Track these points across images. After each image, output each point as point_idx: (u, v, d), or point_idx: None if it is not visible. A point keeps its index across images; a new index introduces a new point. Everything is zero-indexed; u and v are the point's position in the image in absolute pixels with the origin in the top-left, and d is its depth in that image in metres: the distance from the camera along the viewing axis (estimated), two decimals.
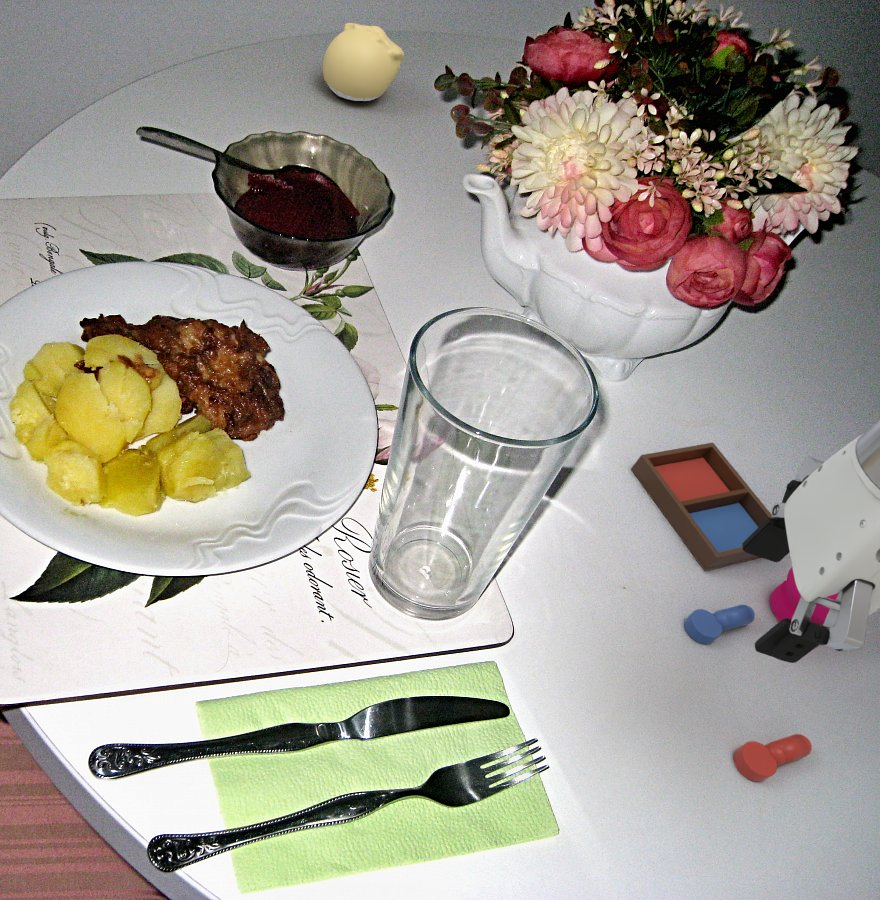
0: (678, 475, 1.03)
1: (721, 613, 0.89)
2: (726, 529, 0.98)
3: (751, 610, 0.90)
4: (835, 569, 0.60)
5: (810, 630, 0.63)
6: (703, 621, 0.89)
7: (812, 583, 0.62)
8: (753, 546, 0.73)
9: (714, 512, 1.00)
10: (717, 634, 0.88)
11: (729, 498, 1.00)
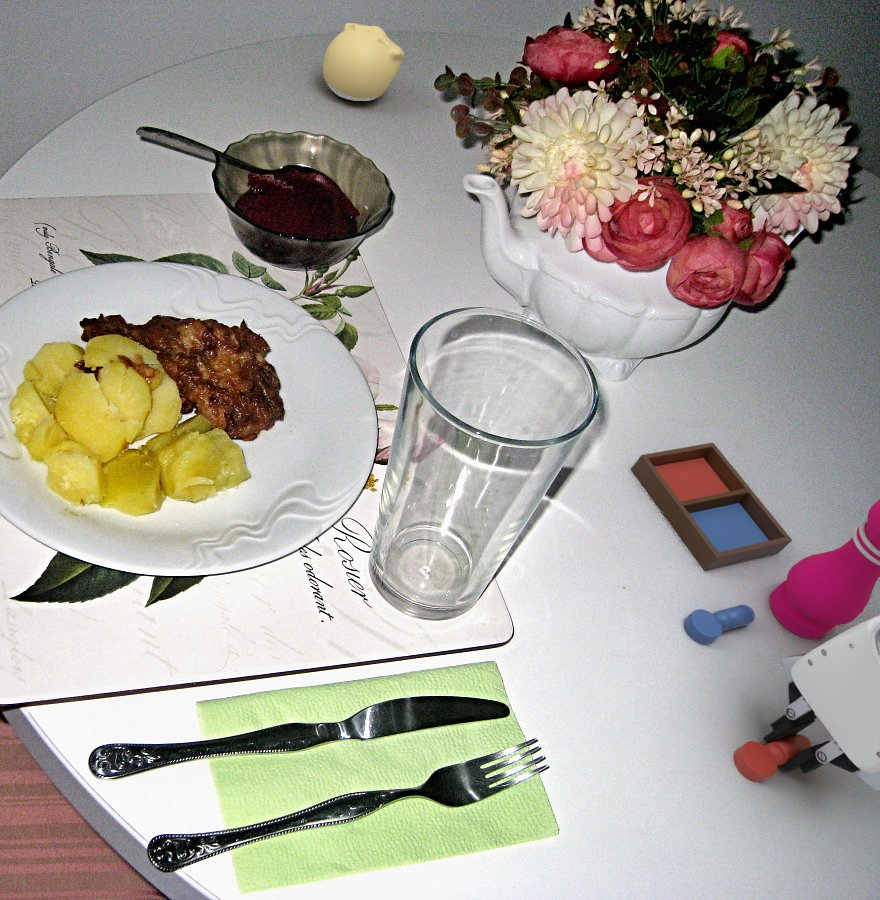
0: (678, 475, 1.03)
1: (721, 613, 0.89)
2: (726, 529, 0.98)
3: (751, 610, 0.90)
4: None
5: (837, 758, 0.76)
6: (703, 621, 0.89)
7: (872, 763, 0.72)
8: (776, 740, 0.81)
9: (714, 512, 1.00)
10: (717, 634, 0.88)
11: (729, 498, 1.00)
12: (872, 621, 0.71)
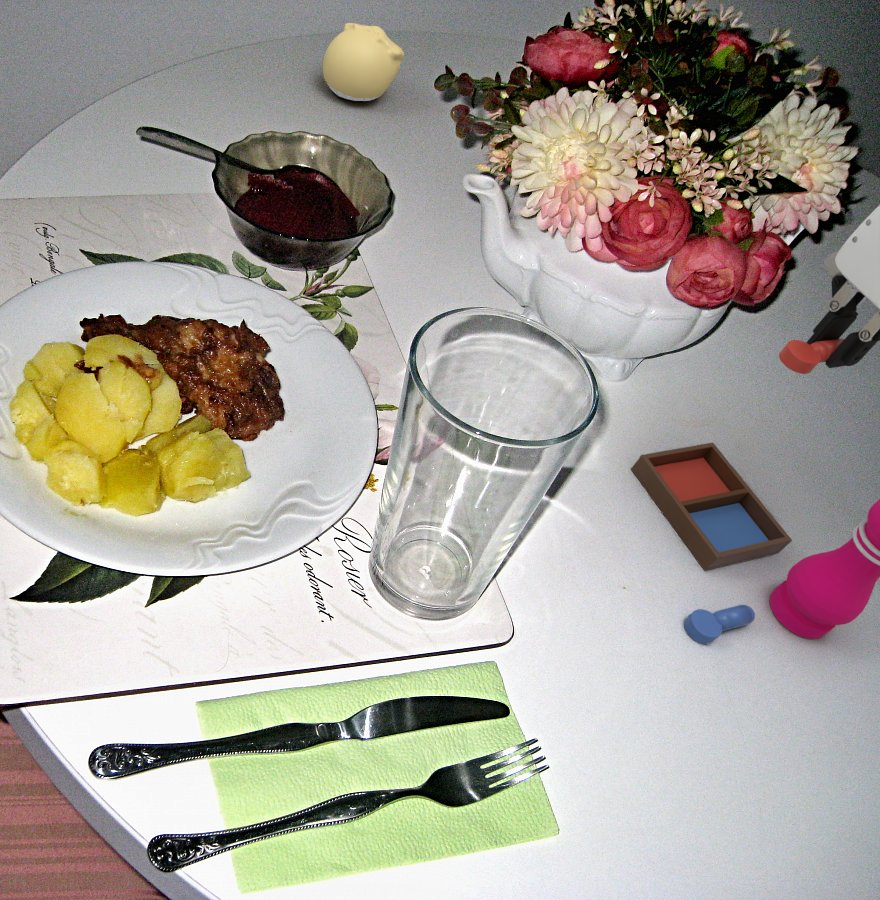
0: (678, 475, 1.03)
1: (721, 613, 0.89)
2: (726, 529, 0.98)
3: (751, 610, 0.90)
4: None
5: None
6: (703, 621, 0.89)
7: None
8: None
9: (714, 512, 1.00)
10: (717, 634, 0.88)
11: (729, 498, 1.00)
12: None
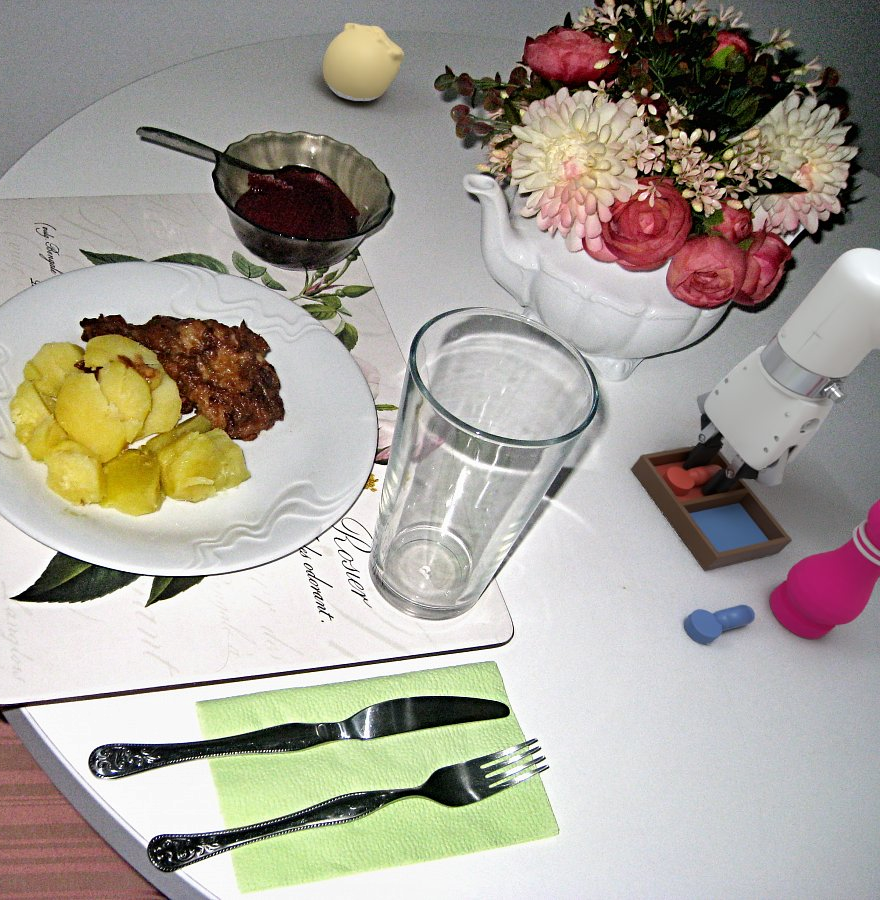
0: None
1: (721, 613, 0.89)
2: (726, 529, 0.98)
3: (751, 610, 0.90)
4: (776, 447, 0.91)
5: (741, 472, 0.97)
6: (703, 621, 0.89)
7: (761, 459, 0.93)
8: (692, 465, 1.02)
9: (714, 512, 1.00)
10: (717, 634, 0.88)
11: (729, 498, 1.00)
12: (760, 347, 0.92)
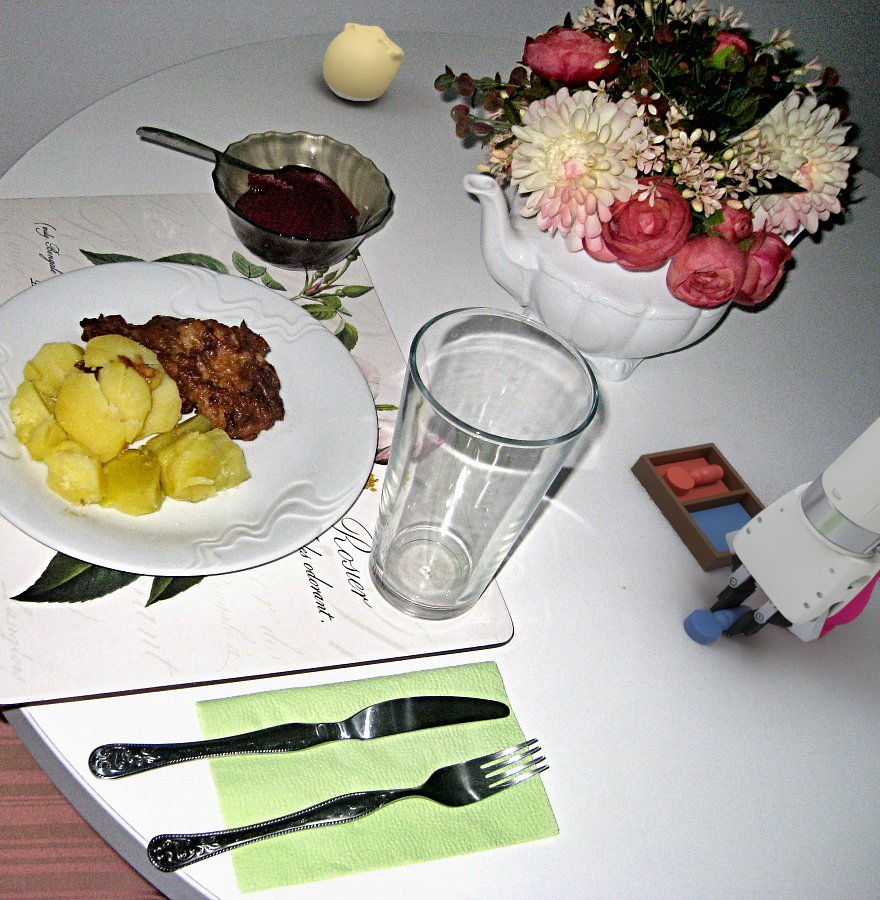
0: None
1: (721, 613, 0.89)
2: (726, 529, 0.98)
3: None
4: (819, 604, 0.79)
5: (773, 617, 0.85)
6: (703, 621, 0.89)
7: (800, 614, 0.80)
8: (721, 609, 0.90)
9: (714, 512, 1.00)
10: (717, 634, 0.88)
11: (729, 498, 1.00)
12: (800, 487, 0.80)
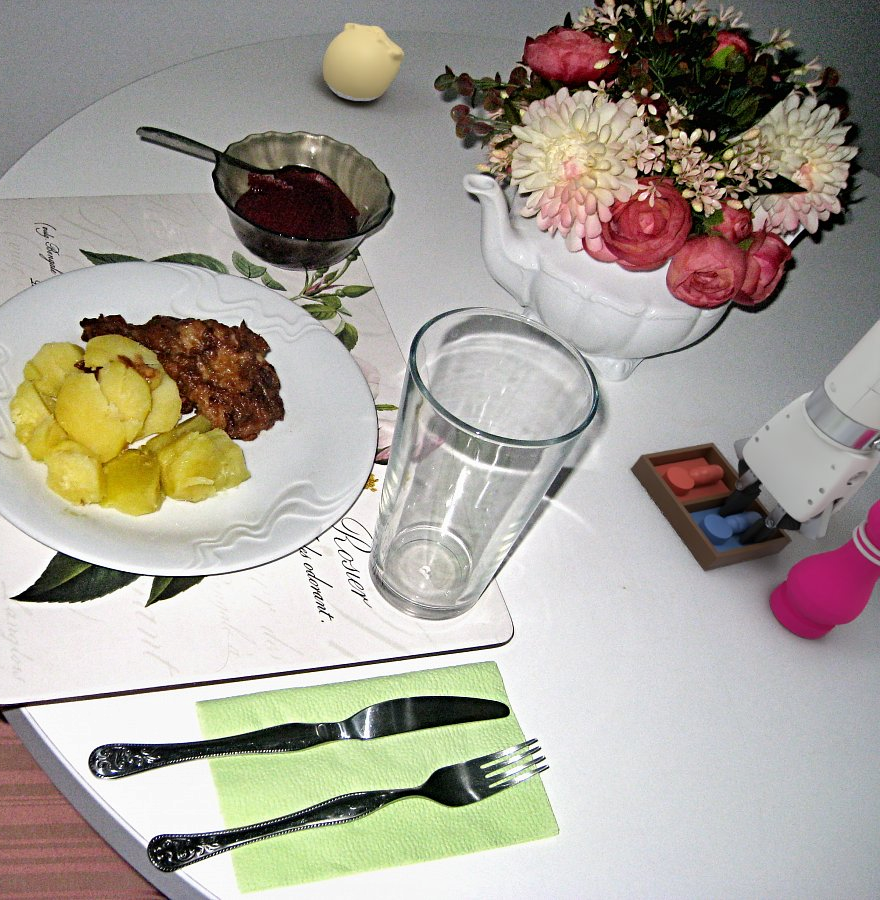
0: None
1: (731, 517, 0.97)
2: None
3: (759, 515, 0.98)
4: (821, 499, 0.87)
5: (782, 522, 0.93)
6: (715, 524, 0.97)
7: (804, 511, 0.89)
8: (728, 512, 0.98)
9: (714, 512, 1.00)
10: (728, 535, 0.96)
11: None
12: (804, 395, 0.88)
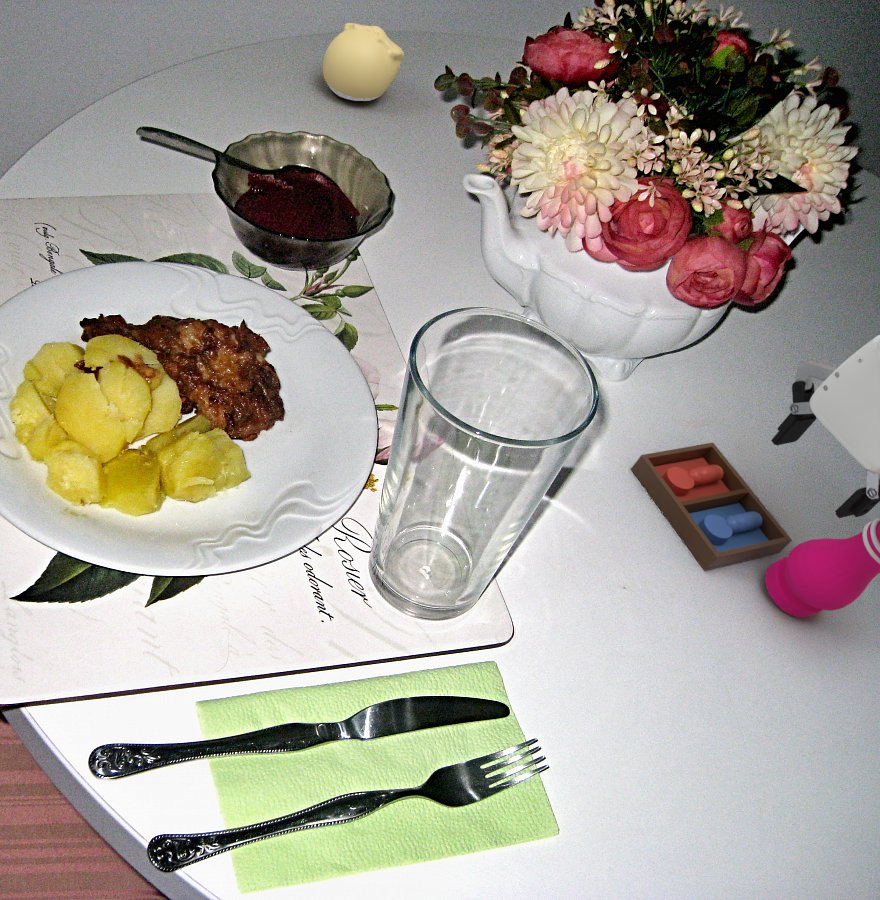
0: None
1: (731, 517, 0.97)
2: None
3: (759, 515, 0.98)
4: None
5: None
6: (715, 524, 0.97)
7: None
8: (782, 439, 0.93)
9: (714, 512, 1.00)
10: (728, 535, 0.96)
11: (729, 498, 1.00)
12: (878, 337, 0.82)
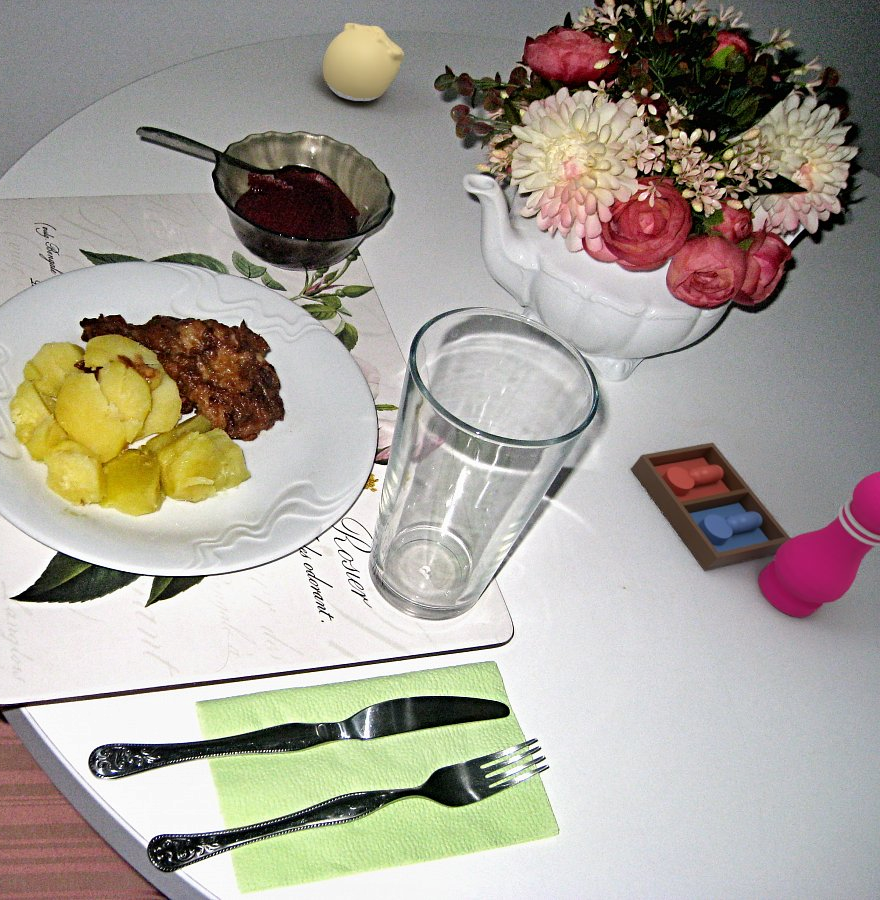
0: None
1: (731, 517, 0.97)
2: None
3: (759, 515, 0.98)
4: None
5: None
6: (715, 524, 0.97)
7: None
8: None
9: (714, 512, 1.00)
10: (728, 535, 0.96)
11: (729, 498, 1.00)
12: None
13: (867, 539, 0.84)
